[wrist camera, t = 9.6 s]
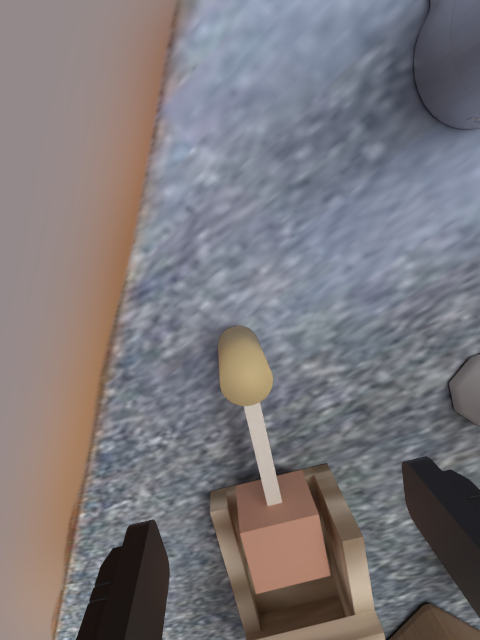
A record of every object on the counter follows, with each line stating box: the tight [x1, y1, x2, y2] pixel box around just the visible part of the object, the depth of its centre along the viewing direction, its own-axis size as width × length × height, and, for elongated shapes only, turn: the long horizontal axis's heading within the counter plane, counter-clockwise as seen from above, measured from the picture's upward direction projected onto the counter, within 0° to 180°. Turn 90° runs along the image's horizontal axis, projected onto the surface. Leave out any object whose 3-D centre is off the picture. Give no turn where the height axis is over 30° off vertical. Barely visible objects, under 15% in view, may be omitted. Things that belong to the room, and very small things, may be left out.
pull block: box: [218, 326, 331, 594], centre depth 26 cm, size 20×6×7 cm, turn 12°
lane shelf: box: [210, 463, 385, 640], centre depth 29 cm, size 16×11×10 cm
